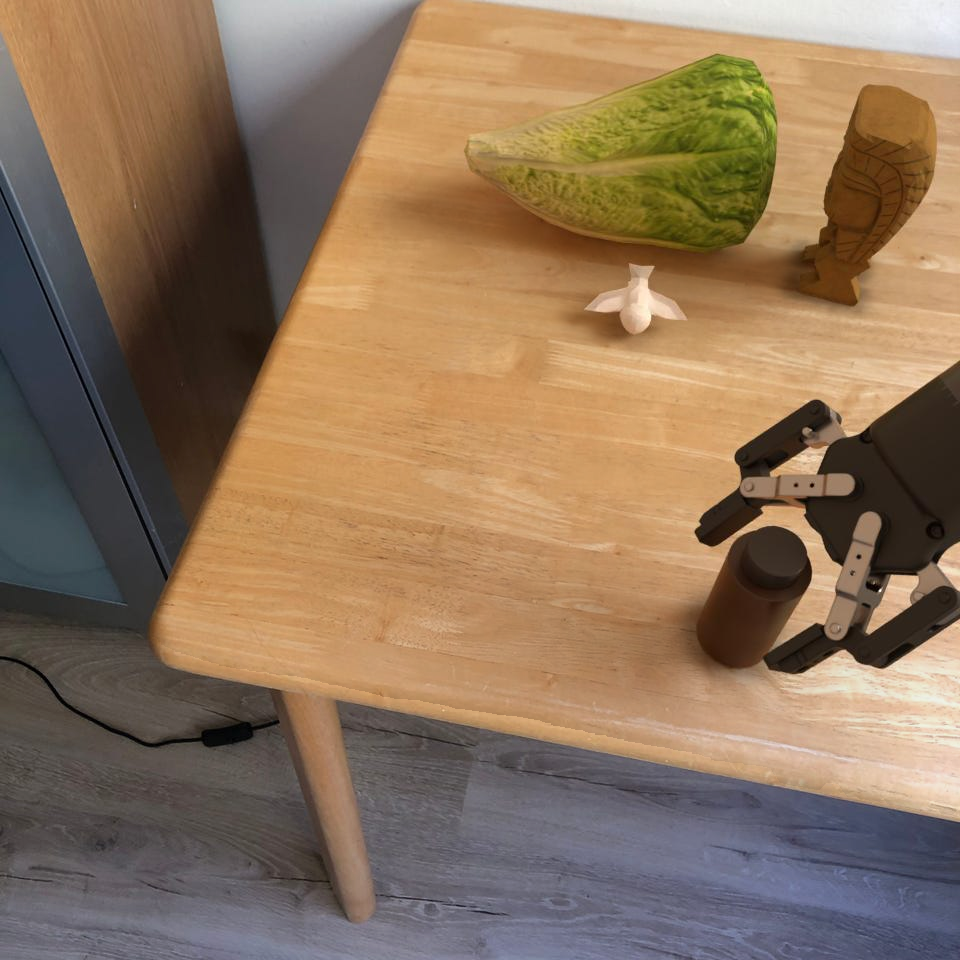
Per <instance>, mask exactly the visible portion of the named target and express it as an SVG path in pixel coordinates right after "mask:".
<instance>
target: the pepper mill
mask: <svg viewBox="0 0 960 960" xmlns="http://www.w3.org/2000/svg"><path fill="white" fill-rule="evenodd" d="M812 578H813V567H812V563H811V560H810V558H809V556H808V550H807V547H806V545H805V543H804V541H803V540H802V539H801V538H800V536H799V535H797V534H796V533H795V532H794V531H792V530H790V529H788V528H785V527H783V526H780V525H779V526H778V525H766V526H762V527H760V528H758V529H755V530H751V531H748V532H745V533H743V534H742V535H739V537H737V538H736V539H735V540H734V541H733V542H732V544H731V546H730V547H729V550H728V552H727V555H726V556H725V559H724V561H723V563H722V565H721V567H720V570H719V572H718V574H717V577H716V579H715V581H714V583H713V585H712V588H711V589H710V592H709V594H708V597H707V599H706V601H705V602H704V605H703V608H702V610H701V612H700V615H699V617H698V619H697V621H696V622H697V623H696V636H697V641H698V642H699V645H700V646H701V648H702V650H703V651H704V652H705V653H706V655H708V656H709V658H711V659H712V660H714V661H715V662H717V663H718V664H720V665H723V666H724V667H728V668H732V669H747V668H750V667H751V668H752V667H754V666H756V665H759V663H761V662H762V661H764V660H763V656H764V655H766V654H767V653H769V652H770V651H771V649H772V648H773V646H774V644H775V643H776V641H777V639H778V638H779V636H780V635H781V633H782V631H783V629H784V628H785V626H786V625H787V623H788V621H789V620H790V618H791V616H792V615H793V613H794V611H795V610H796V609H797V607H798V605H799V603H800V602H801V601H802V599H803V597H804V595H805V593H806V592H807V590H808V589H809V587H810V585H811V583H812Z"/></svg>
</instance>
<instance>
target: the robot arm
mask: <svg viewBox="0 0 960 960" xmlns="http://www.w3.org/2000/svg"><path fill="white" fill-rule="evenodd" d="M842 419H843V418H842V416H841V414H840V413H839V412H837V411H836V410H835V409H833V408H832V407H831V406H830V405H828V404H827V403H825V402H824V401H823V400H821V399H816V398H815V399H811V400H809V401H808V402H807V403H804V404H803V405H802V406H801V407H799V408H798V409H796V410H794V411H793V412H791V413H790V414H788V415H786V417H784V418H782V419H781V420H780V421H777V422H776V423H775V424H774V425H772V426H771V427H769V428H768V429H765V431H762V433H760V434H759V435H757V436H755V437H754V438H753V439H751V440H750V441H747V442H746V443H745V444H744V445H742V446H741V447H739V448H738V449H737V450H736V451H735V453H734V457H733V460H734V462H735V464H736V465H737V466H738V467H739V473H740V478H741V479H740V483H739V486H738V487H737V488H736V489H735V490H734V491H732V492H731V493H730V494H728V495H727V496H726V497H724V498H723V499H721V500H720V501H719V502H717V504H716V503H715V504H714V505H713V506H712V507H711V508H709V509H708V510H706V511H705V512H703V514H702V515H701V517H700V518H699V519H698V522H699V524H700V525H699V526H697V527H696V528H695V529H694V531H693V532H694V535H695V537H696V538H697V540H698V543H700V544H702V545H705V546H706V547H707V546H708V547H710V548H714V547H716V546H719V545H721V544H722V543H724V542H725V541H726V540H728V539H729V538H731V537H732V536H733V535H735V534H737V533H738V532H739V531H741V530H742V529H743V528H744V527H746V526H748V525H749V524H750V523H752V522H753V521H755V520H756V519H758V518H759V517H760V516H762V515H763V514H764V511H763V510H762V508H763V507H784V508H785V507H787V508H797V509H803V510H805V513H804V514H803V517H804V518H805V520H806V522H807V523H808V525H809V526H810V528H812V529H813V530H814V531H815V532H816V533H817V534H819V536H820V537H821V541H822V544H823V546H824V547H823V548H824V550H825V552H826V553H827V555H828V556H829V558H830V560H831V561H832V562H833V563H836V564H838V565H839V566H840V567H841V569H840V572H839V575H838V577H837V581H836V583H835V586H834V590H835V591H834V592H835V596H834V598H833V599H834V600H833V602H832V605H831V606H830V610H829V613H828V615H827V618H826V621H825V623H824V624H822V623H819V622H815V623H813V624H811V625H810V626H808V627H807V628H805V629H804V630H802V631H801V632H799V633H797V634H796V635H794V636H792V637H791V638H789V639H788V640H786V641H785V642H783V643H782V644H779V645H778V646H777V647H775V648H773V649H772V650H770V651H769V652H768V653H767V654H766V655H764V656H763V660H762V661H763V662H764V664H765V665H766V667H767V669H768V671H773V672H778V673H783V674H788V675H794V676H795V675H801V674H805V672H807V671H809V670H811V669H812V668H814V667H815V666H817V665H818V664H820V663H822V662H824V661H825V660H827V659H829V658H831V657H832V656H834V655H836V654H837V653H839V652H841V651H844V650H845V651H846V652H848V653H849V654H850V655H851V656H852V658H853V659H854V660H855V662H856V663H858V664H860V665H863V666H870V667H872V668H875V669H879V670H884V669H887V668H889V667H890V666H892V665H893V664H894V663H896V662H898V661H899V660H901V659H902V658H904V657H905V656H907V655H908V654H910V653H911V652H913V651H914V650H916V649H917V648H919V647H920V646H921V645H923V644H925V643H926V642H928V641H930V639H933V638H934V637H935V636H937V635H938V634H939V633H941V632H942V631H944V630H946V629H947V628H949V627H950V626H952V625H953V624H954V623H956V622H958V621H959V620H960V590H958V589H957V588H956V587H955V586H954V584H953V583H952V582H951V580H950V579H949V578H948V576H947V575H945V573H944V572H943V570H942V569H941V568H940V566H939V565H938V563H939V562H940V559H942V557H943V555H944V554H945V553H946V552H947V551H948V550H949V549H950V548H951V547H953V546H954V545H957V544H958V543H960V359H959V360H958V361H956V362H955V363H954V364H952V365H951V366H949V367H948V368H947V369H945V370H944V371H943V372H941V373H939V374H938V375H937V376H935V377H934V378H932V379H931V380H930V381H928V382H927V383H925V384H924V385H923V386H921V387H920V388H918V389H917V390H915V391H914V392H913V393H911V394H910V395H908V396H907V397H906V398H904V399H903V400H902V401H900V402H899V403H897V404H896V405H895V406H893V407H891V408H890V409H889V410H887V411H886V412H885V413H883V414H881V416H879V417H877V418H876V419H875V420H873V421H872V422H871V423H870V424H869V425H868V426H867V427H866V428H865V429H864V430H863V431H861V432H859V433H857V434H855V435H851V436H847V434H846V432H845V430H844V429H843V427H842V423H843V421H842ZM824 447H827V448H826V450H825V452H824V455H823V457H822V460H821V462H820V465H819V466H818V470H817V472H816V474H779V475H778V476H771V473H772V472H773V471H774V470H776V469H777V468H779V467H781V466H782V465H784V464H785V463H787V462H788V461H790V460H792V459H793V458H794V457H797V455H799V454H801V453H802V452H804V451H806V450H807V449H808V448H811V449H814V450H819V449H822V448H824ZM892 576H908V577H910V576H912V577H918V583H917V586H916V587H915V588H914V589H913V590H912V591H911V593H910V595H909V601H910V604H911V605H910V606H908V607H907V608H905V609H904V610H902V611H901V612H899V613H898V614H897V615H895V616H894V617H893V618H891V619H889V620H887V622H885V623H884V624H882V625H880V626H879V627H878V628H876V629H875V630H873V631H872V632H871V633H867V630H868V628H869V624H870V622H871V619H872V616H873V613H874V612H875V610H876V609H877V608H878V607H879V606H880V605H881V603H882V601H883V597H884V595H885V592H886V590H887V588H888V584H889V583H890V579H891V577H892Z"/></svg>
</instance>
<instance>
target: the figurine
mask: <svg viewBox="0 0 960 960" xmlns="http://www.w3.org/2000/svg"><path fill="white" fill-rule="evenodd" d="M937 152H938V132H937V122H936V119H935V116H934V113H933V111H932V108H931V107H930V104H929V103H928V101H927V100H925V99H922V98H920V97H919V96H916V95H913V94H912V93H911V92H909V91H906V90H904V89H902V88H900V87H899V86H894V85H888V84H887V85H886V84H885V85H884V84H881V85H880V84H871V83H870V84H869V83H868V84H865V85H864V86H863V87H862V88H861V89H860V91H859V93H858V96H857V99H856V102H855V105H854V107H853V111H852V112H851V115H850V118H849V121H848V126H847V129H846V131H845V134H844V136H843V145H842V149H841V150H840V151H839V153H838V155H837V156H836V157H837V158H836V161H835V162H834V163H833V168H832V170H831V173H830V177H829V178H828V180H827V185H826V186H825V191H824V195H823V208H822V209H823V211H824V214H825V215H826V216H827V222H826V223H827V224H826V225H825V226H823V227H822V228H820V229H819V234H818V243H814V244H809V245H806V246H805V247H804V249H803V253H802V261H801V262H802V263H804V264H809V265H813V266H814V267H815V269H813V270H811V271H807V272H804V273H802V274H799V278H798V280H797V285H796V292H797V293H800V294H805V295H807V296H812V297H816V298H819V299H824V300H827V301H832V302H836V303H841V304H845V305H849V306H854V307H855V306H857V304H858V303H859V301H860V294H861V287H860V284H859V281H858V278H857V276H860V275H861V274H862V273H864V272H865V271H867V270H869V269H871V266H872V257H874V256H875V255H876V254H878V253H879V252H880V251H881V250H882V249H883V248H884V247H885V246H886V245H887V244H888V243H889V242H891V240H892V239H893V238H894V237H895V236H896V235H897V234H898V233H899V231H901V229H902V228H903V227H904V226H905V225H906V224H907V222H908V220H909V219H910V218H912V216H913V215H914V213H916V210H918V208H919V207H920V205H921V203H922V201H923V200H924V198H925V197H926V196H927V194H928V192H929V190H930V187H931V185H932V182H933V179H934V175H935V169H936V161H937Z"/></svg>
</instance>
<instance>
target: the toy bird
mask: <svg viewBox="0 0 960 960" xmlns="http://www.w3.org/2000/svg"><path fill="white" fill-rule="evenodd" d="M655 266H656V265H639V264H636V263H635V264H634V263H630V262H628V267H629V272H630V277H631V278H630V281H629V280H628V281H627V284H626V287H622V288H618V289H614V290H609V291H605V292H601V293H599V295H597V296H596V297H595V298H594V299H593V300H592V301H591V302H590V303H589V304H588V305H587V306H586V307H585V308H584V309H583V310H584V311H591V312H598V313H603V314H604V313H605V314H609V313H619V319H620V322H621V325H622V327H623V328H624V329H625V330H626V332H628V333H630V334H631V335H637V334H641V333H642V332H644V331H646V329H647V328H648V327H649V325H651V320H652V316H654V317H659V318H661V319H664V320H675V321H676V320H677V321H688V318H687V317H686V315H685V314H684V312H683V311H682V309H681V308H680V307H679V304H677V302H676V300H675V299H672V298H669V297H667V296H666V295H665V296H664V295H663V294H660V293H658V292H655V291H654V290H652V289H651V288H649V278H650V276H651V274H652V273H653V270H654V268H655Z"/></svg>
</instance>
